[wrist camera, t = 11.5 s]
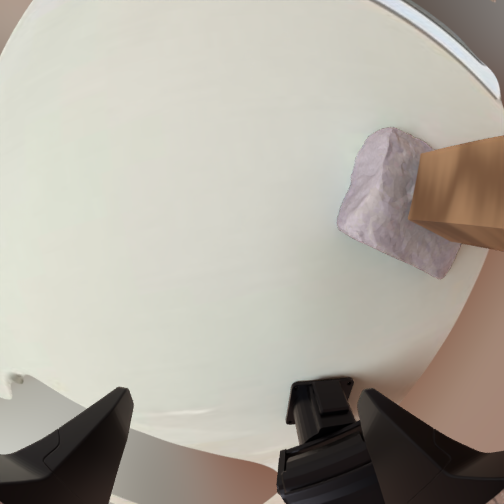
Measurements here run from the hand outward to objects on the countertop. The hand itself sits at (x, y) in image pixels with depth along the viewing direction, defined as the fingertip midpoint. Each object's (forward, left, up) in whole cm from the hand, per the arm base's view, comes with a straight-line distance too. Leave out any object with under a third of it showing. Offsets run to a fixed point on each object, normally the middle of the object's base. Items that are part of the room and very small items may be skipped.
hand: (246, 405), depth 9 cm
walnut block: (+7, -14, -9) cm, 18 cm away
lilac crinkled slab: (+7, -14, -14) cm, 20 cm away
